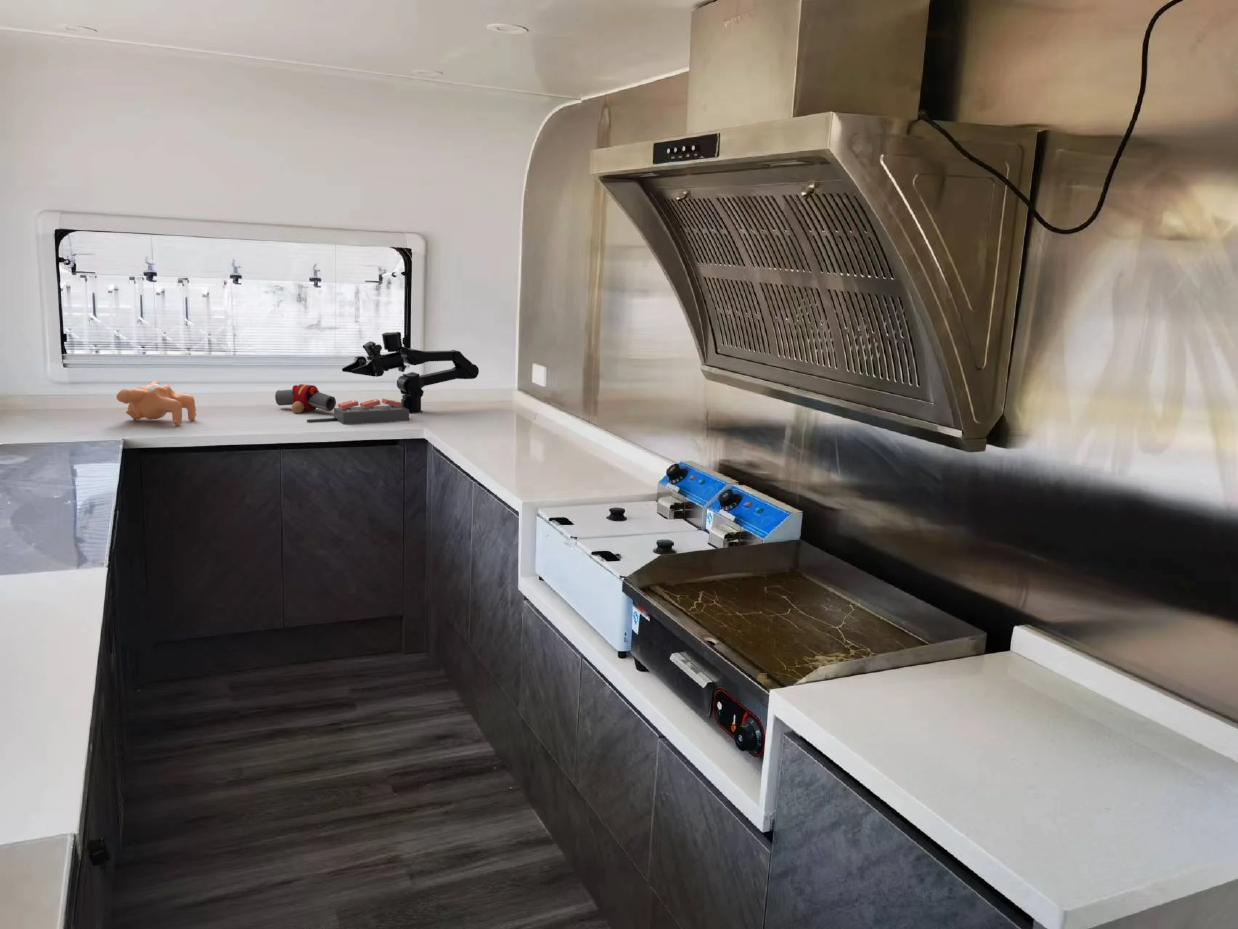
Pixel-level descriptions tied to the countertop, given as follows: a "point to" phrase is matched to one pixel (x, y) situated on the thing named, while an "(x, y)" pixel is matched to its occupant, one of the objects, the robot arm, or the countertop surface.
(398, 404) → the red rectangular block
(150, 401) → the figurine
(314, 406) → the toy
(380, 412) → the power strip
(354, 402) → the rocker
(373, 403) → the plate
